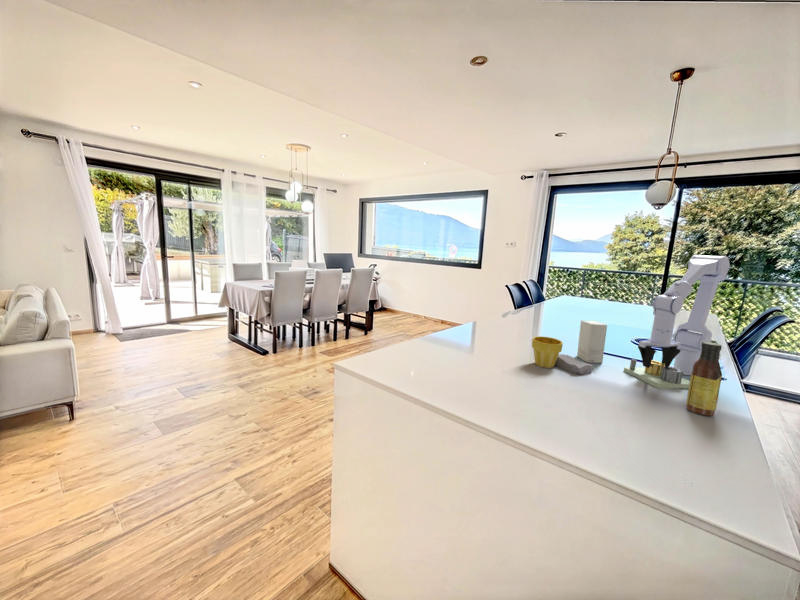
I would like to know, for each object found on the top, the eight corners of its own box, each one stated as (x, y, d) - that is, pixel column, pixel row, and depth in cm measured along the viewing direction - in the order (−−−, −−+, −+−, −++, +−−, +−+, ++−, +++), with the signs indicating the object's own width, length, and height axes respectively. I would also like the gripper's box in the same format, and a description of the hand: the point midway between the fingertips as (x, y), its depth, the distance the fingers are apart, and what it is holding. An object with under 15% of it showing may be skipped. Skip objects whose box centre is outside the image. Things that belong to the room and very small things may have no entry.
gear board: (657, 371, 127) (659, 356, 126) (696, 388, 112) (699, 371, 111) (623, 371, 125) (626, 355, 124) (658, 388, 110) (662, 371, 109)
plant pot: (539, 370, 121) (543, 344, 119) (524, 360, 131) (527, 336, 129) (565, 369, 123) (569, 344, 121) (548, 360, 133) (551, 336, 131)
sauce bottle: (720, 418, 92) (735, 348, 88) (693, 415, 93) (708, 345, 89) (703, 407, 98) (718, 341, 95) (679, 404, 99) (692, 339, 96)
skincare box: (602, 363, 132) (608, 325, 130) (585, 362, 132) (591, 324, 130) (591, 356, 141) (596, 320, 138) (575, 355, 141) (580, 319, 138)
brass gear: (653, 370, 123) (655, 359, 123) (666, 375, 118) (669, 365, 117) (640, 370, 123) (642, 359, 122) (653, 375, 117) (655, 365, 117)
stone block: (566, 366, 133) (549, 363, 128) (570, 354, 132) (553, 352, 128) (594, 378, 122) (576, 376, 118) (598, 366, 122) (581, 363, 117)
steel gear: (664, 376, 117) (667, 365, 117) (683, 382, 113) (685, 370, 112) (657, 378, 115) (659, 367, 114) (676, 384, 110) (678, 373, 110)
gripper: (670, 327, 122) (663, 362, 124) (634, 326, 120) (628, 362, 123) (689, 332, 115) (681, 370, 118) (651, 331, 113) (644, 369, 116)
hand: (655, 366), depth 120 cm, fingers open, 7 cm apart
